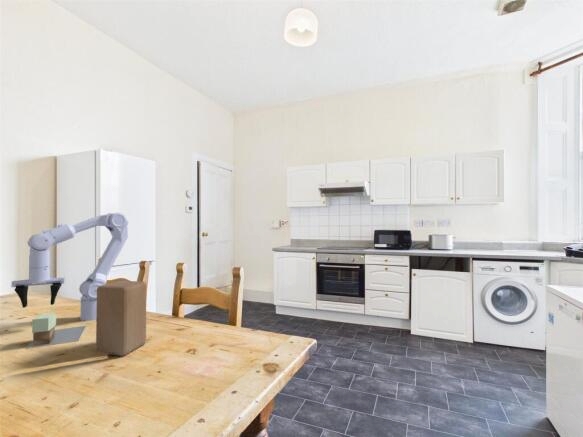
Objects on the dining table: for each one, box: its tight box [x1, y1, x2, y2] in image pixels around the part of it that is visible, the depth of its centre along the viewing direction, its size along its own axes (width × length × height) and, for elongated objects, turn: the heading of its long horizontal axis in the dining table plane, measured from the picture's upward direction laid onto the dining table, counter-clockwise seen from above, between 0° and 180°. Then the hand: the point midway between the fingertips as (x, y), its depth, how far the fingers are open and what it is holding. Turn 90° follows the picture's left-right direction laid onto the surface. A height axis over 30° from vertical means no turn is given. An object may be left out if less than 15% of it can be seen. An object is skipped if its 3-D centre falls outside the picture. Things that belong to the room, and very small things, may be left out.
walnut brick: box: [32, 325, 56, 346], centre depth 94 cm, size 4×6×4 cm, turn 27°
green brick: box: [31, 312, 57, 334], centre depth 94 cm, size 4×6×4 cm, turn 20°
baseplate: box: [24, 325, 87, 350], centre depth 98 cm, size 13×16×1 cm
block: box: [95, 280, 147, 357], centre depth 91 cm, size 10×10×20 cm
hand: (38, 305), depth 105 cm, fingers open, 7 cm apart
